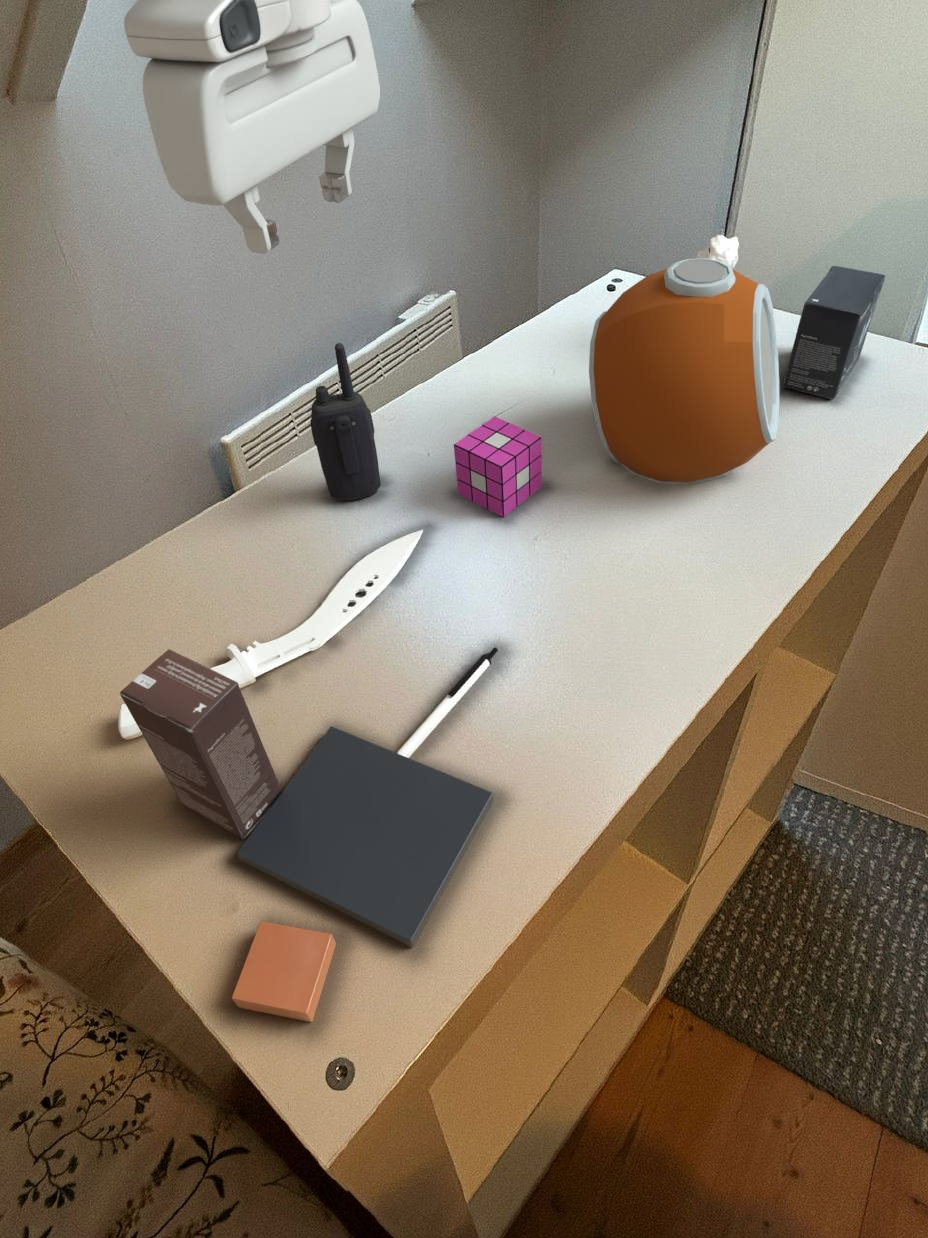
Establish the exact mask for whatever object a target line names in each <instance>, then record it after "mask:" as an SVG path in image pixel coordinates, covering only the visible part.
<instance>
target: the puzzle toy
mask: <svg viewBox="0 0 928 1238" xmlns="http://www.w3.org/2000/svg"><path fill="white" fill-rule="evenodd" d="M453 453H454V454H453V455H454V463H455V474H456V486H457V494H458V495H459V496H461V497H462V498H465V499H466V500H468V501H470V502H473V503H474V504H476V505H478V506H480V507H482V508H484V509H485V510H488V511H490V512H492V513H494V514H496V515H498V516H499V517H501V518H505V517H506V516H508V515H509V514H510V513H511V512H513V511H514V510H516V508H517V507H520V505H521V504H523V503H524V502H525V501H527V500H528V499H529V498H530V497H531V496H533V495H534V494H535V493H536V492H538V490H540V489H542V487H543V437H542V436H541V435H538V434H536V433H534V432H531V431H530V430H526V429H525V428H523V427H520V426H518V425H515V424H514V423H511V422H508V421H506V420H504V419H502V418H500V417H497V416H495V415H494V416H492V417H491V418H490V419H488V420H487V421H485V422H483V423H482V424H481V425H479V426H478V427H476V428H475V429H474V430H473V431H471V432H470V433H468V434H467V435H465V436H464V437H463V438H461V439H459V440H458V441H457V442H455V443H454V444H453Z"/></svg>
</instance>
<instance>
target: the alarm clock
mask: <svg viewBox="0 0 928 1238" xmlns="http://www.w3.org/2000/svg"><path fill="white" fill-rule="evenodd" d="M775 321H776V320H775V314H774V307H773V303H772V298H771V294H770V289H768V288H767V286H766V285H765V284H763V283H758V282H756V281H754V280H753V279H750V278H749V277H747V276H745V275H744V274H741V273H739V272H738V271H736V270H734V269H733V270H732V268H731V267H730V266H728V265H726V264H725V263H723V262H721V261H717V260H711V259H706V258H698V257H695V258H686V259H683V260H679V261H676V262H673V263H672V264H671V265H670V266H669V267H668V268H665V269H662V270H660V271H657V272H655V273H651V274H649V275H646V276H645V277H644V278H642V279H641V280H639V281H638V282H636V283H635V284H633V285H632V286H630V287H629V288H628V289H627V290H624V291H623V292H622V293H621V294H620V295H619V297H618V298H617V299H616V300H615V301H614V302H613V304H611V306H610V307H609V308H608V309H607V310H605V311H602V313H601V314H600V315H599V316H598V317H597V318H596V319H595V322H594V326H593V330H592V334H591V339H590V343H589V362H588V376H589V378H588V379H589V387H590V401H591V405H592V411H593V416H594V421H595V426H596V429H597V433H598V434H599V438H600V441H601V442H602V446H603V448H604V450H605V452H606V454H607V455H608V456H609V457H610V458H611V460H612V461H613V462H614V464H620V465H621V466H623V467H624V468H625V469H627V470H628V471H629V472H631V473H632V474H633V475H635V476H637V477H640V478H643V479H646V480H648V481H652V482H655V483H658V484H663V485H665V484H666V485H693V484H699V483H702V482H706V481H711V480H716V479H720V478H724V477H726V475H727V474H728V473H729V472H731V471H732V470H734V469H737V468H739V467H742V466H743V465H744V464H747V463H749V462H750V461H751V460H752V459H754V457H755V456H757V455H758V454H759V453H760V452H762V450H763V449H765V448H766V447H767V446H768V445H769V444H771V443H772V442H774V441H775V440H776V439H777V433H778V430H779V421H780V420H779V419H780V418H779V417H780V369H779V368H780V367H779V351H778V349H779V348H778V340H777V338H778V337H777V329H776V322H775Z"/></svg>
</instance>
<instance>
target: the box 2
mask: <svg viewBox="0 0 928 1238" xmlns="http://www.w3.org/2000/svg"><path fill="white" fill-rule="evenodd" d="M885 279H886V275H885V274H882V273H877V272H872V271H866V270H860V269H855V268H851V267H850V268H849V267H845V266H844V267H843V266H838V265H832V266H831V267H830V268H829V269H828V271H827V272H826V274H825V275H824V277H823V278H822V279H821V281H820V282H819V283H818V285H816V287H815V289H814V290H813V292H812V293H811V294H810V295H809V297H808V298H807V299H806V301H805V302H804V304H803V307H802V310H801V314H800V318H799V322H798V325H797V329H796V333H795V338H794V340H793V345H792V349H791V353H790V356H789V360H788V364H787V368H786V371H785V377H784V379H783V383H782V388H784V389H787V390H792V391H795V392H796V391H797V392H800V393H805V394H810V395H814V396H816V397H821V398H824V399H829V400H835V398H836V397H837V395H838V393H839V392H840V390H841V389H842V387H843V385H844V384H845V382H846V380H847V379H848V377H849V376H850V374H851V373H852V371H853V369H854V368H855V366H856V364H857V363H858V362H859V359H860V357H861V353H862V352H863V351H862V350H863V348H864V344H865V341H866V337H867V335H868V331H869V327H870V325H871V322H872V319H873V316H874V314H875V311H876V306H877V303H878V301H879V297H880V295H881V291H882V288H883V285H884V282H885Z"/></svg>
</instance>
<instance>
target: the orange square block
mask: <svg viewBox="0 0 928 1238" xmlns="http://www.w3.org/2000/svg"><path fill="white" fill-rule="evenodd" d="M336 946H337V943H336V941H335V938H334V936H333V934H332V933H328V932H323V931H317V930H312V929H306V928H300V927H295V926H290V925H286V924H285V925H284V924H279V923H275V922H274V923H273V922H268V921H262V920H261V921H259V924H258V926H257V929H256V932H255V935H254V938H253V941H252V943H251V946H250V948H249V951H248V954H247V956H246V959H245V961H244V964H243V966H242V970H241V971H240V975H239V977H238V980H237V983H236V986H235V987H234V988H235V989H234V991H233V994H232V996H231V999H232V1001H233V1002H234V1004H235V1005H236V1006H237V1007H238V1008H239V1009H245V1010H250V1011H254V1012H260V1013H265V1014H269V1015H273V1016H279V1017H284V1018H288V1019H292V1020H293V1019H294V1020H298V1021H299V1020H300V1021H303V1022H308V1023H312V1022H313V1021H314V1018H315V1015H316V1011H317V1009H318V1005H319V1001H320V998H321V995H322V993H323V989H324V985H325V982H326V979H327V976H328V972H329V969H330V965H331V962H332V959H333V956H334V952H335V949H336Z"/></svg>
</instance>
